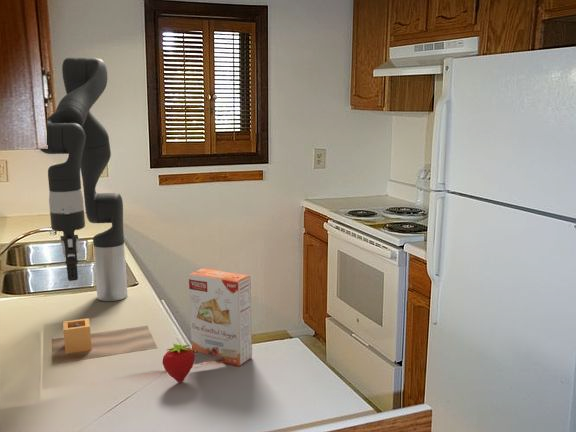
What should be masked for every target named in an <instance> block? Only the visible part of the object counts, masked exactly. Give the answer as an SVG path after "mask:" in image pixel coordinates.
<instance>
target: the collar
mask: <svg viewBox="0 0 576 432" xmlns="http://www.w3.org/2000/svg"><path fill="white" fill-rule="evenodd" d="M62 322H63V323H62V326H63V327H62V328H63V338H64V342H65V354H67V353H74V352H81V351H87V350H92V347H91V334H92V333H91V325H90V318H89V317H88V318H81V319H74V320H66V321H62ZM75 324H79V325H80V326H79V327H73V325H75Z"/></svg>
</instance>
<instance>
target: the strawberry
mask: <svg viewBox="0 0 576 432" xmlns="http://www.w3.org/2000/svg"><path fill="white" fill-rule="evenodd" d="M177 340H178V342H179V343H180V344H176V343H173V347H170V348H168V349H166V353H165V354H164V355H163V357H162V365H163V368H164V370H165V372H166V373H168V375H169V376H170V377H171V378H173V379H174V380H175V381H176V382H177V383H182V382H184V381H185V379H186V377H187V376H188V374H189V373H190V371H191V369H192V368H193V366H194V362H195V357H196V356H195V352H194V351H193V350H192V348H190V347H189V346H191V344H182V343H181V341H180V340H179V339H177Z"/></svg>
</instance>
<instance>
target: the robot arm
mask: <svg viewBox="0 0 576 432" xmlns="http://www.w3.org/2000/svg"><path fill="white" fill-rule="evenodd" d="M61 68H62V69H61V71H62V80H63V84H64V88H65V93H66V94H65V95H64V96H63V97H62V98H61V99H60V101H59V103H58V104H57V107H56V108H55V109H56V110H55V111H54V112H53V113H51V114H50V115H49V116H48V117H47V118H46V119H47V145H48V149H39V150H40V152H42V153H44V154H47V155H67V154H68V157H67V159H66V161H64V162H62V163H57V164H53V165H51V166H49V167H48V169H47V178H48V179H47V181H48V189H49V190H48V191H49V192H48V193H49V194H48V195H49V196H48V203H49V216H50V227H51V228H50V229H51V230H53V231H55V232H62V234H63V235H60V236H59V237H60V238H59V239H60V245H61V248H62V256H63V258H65V261H64V262H65V265H66V271H67V281H69V282H72V281H78V279H79V276H78V274H79V273H78V264H79V260H78V256H79V255H80V254H79V244H80V243H79V242H80V241H79V235H78V234H75V232H76V231H79V230H82V229H84V228H85V226H86V219H87V220H88V222H89V223H92V224H111V227H110V228H109V229H106V230H104V231H102V232H98V233H97V234H94V236H93V237H92V238H93V239H92V244H93V245H92V246H93V255H94V256H93V259H94V270H95V283H96V286H95V287H96V297H97V298H96V299H97V300H99V301H102V302H115V301H116V302H117V301H121V300H123V299H127V297H128V281H127V280H128V279H127V266H126V251H125V234H124V203H123V197H122V195H121V194H120V193H118V192H103V193H102V192H100V193H98V192H96V191H97V190H96V188H97V187H96V186H97V185H98V181H99V180H100V177H101V175H102V174H103V172H104V171H105V169H106V167H107V165H108V163H109V162H110V159H111V157H112V152H111V151H112V150H111V145H110V137H109V134H108V132H107V129H106V128H105V126H103V124H102V123H101V122H100V121H99V120H98V118H97V117H96V116H95V115H94V114H93V113H92V111H91V108H93V106H94V104H95V103H96V102H97V101H98V100H99V99H100V97H101V96H102V94H103V93H104V92H105V90H106V87H107V84H108V68H107V65H106V63H105V62H104V60H103V59H101V58H97V57H67V58H65V59H63V61H62V66H61ZM81 178H82V179H81ZM81 180H82V181H81ZM82 187H83V191H82ZM85 214H86V217H85ZM85 218H86V219H85Z"/></svg>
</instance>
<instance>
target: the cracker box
mask: <svg viewBox="0 0 576 432" xmlns="http://www.w3.org/2000/svg"><path fill="white" fill-rule="evenodd" d="M251 289H252V288H251V276H250V275H247V274H241V273H234V272H227V271H222V270H215V269H208V268H202V267H201V268H200V269H198V270H195V271H193V272H191V273H189V274H188V290H189V292H188V293H189V314H190V317H189V318H190V336H191V337H190V338H191V350H192V351H193V352H194V351H195V352H199V353H203V354H206V355H211V356H215V357H218V359H215V361H217V362H221V363H225V364H228V365H232V366H237V367H242V365H243V364H244V363H247V362H248V361H249V360H250V359H252V358H253V347H252V346H253V340H252V339H253V338H252V337H253V336H252V295H251V294H252V293H251ZM219 357H220V358H219Z"/></svg>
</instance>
